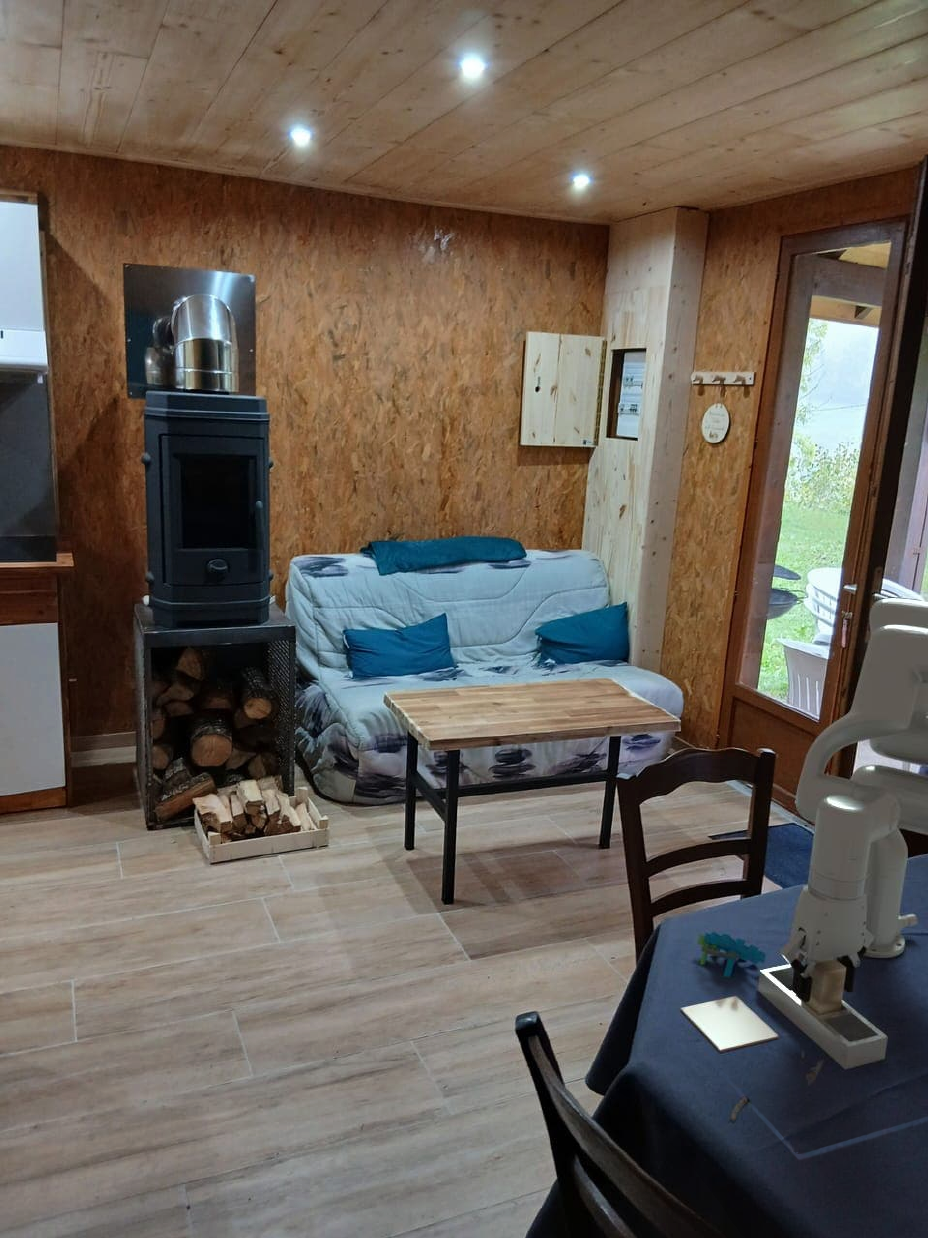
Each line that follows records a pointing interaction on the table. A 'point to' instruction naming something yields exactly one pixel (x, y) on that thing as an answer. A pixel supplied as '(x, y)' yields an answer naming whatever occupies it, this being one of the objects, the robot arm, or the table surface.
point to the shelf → (825, 1022)
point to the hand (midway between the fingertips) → (821, 991)
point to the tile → (729, 1023)
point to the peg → (826, 986)
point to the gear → (729, 950)
